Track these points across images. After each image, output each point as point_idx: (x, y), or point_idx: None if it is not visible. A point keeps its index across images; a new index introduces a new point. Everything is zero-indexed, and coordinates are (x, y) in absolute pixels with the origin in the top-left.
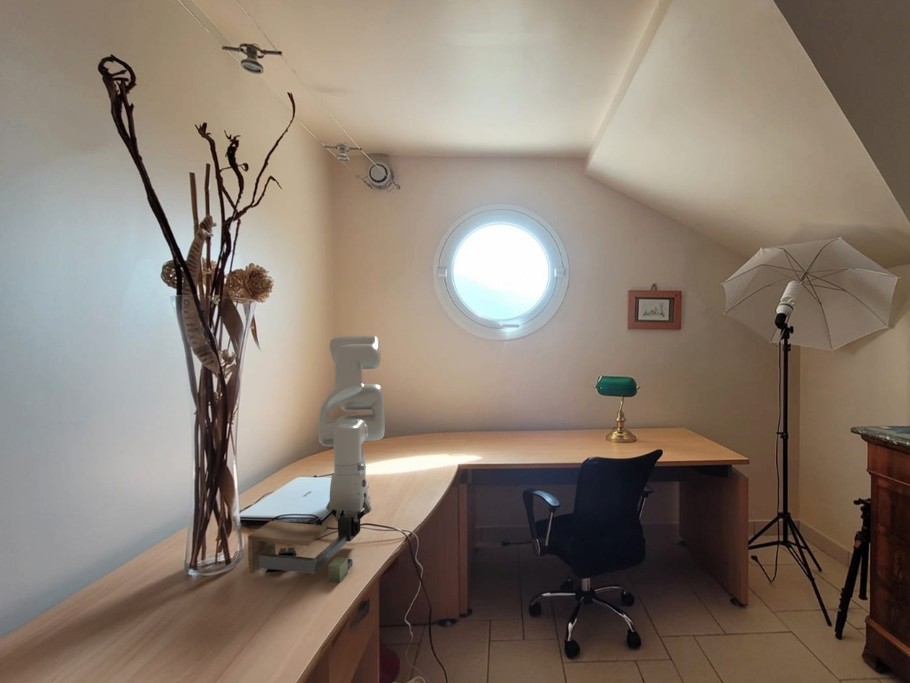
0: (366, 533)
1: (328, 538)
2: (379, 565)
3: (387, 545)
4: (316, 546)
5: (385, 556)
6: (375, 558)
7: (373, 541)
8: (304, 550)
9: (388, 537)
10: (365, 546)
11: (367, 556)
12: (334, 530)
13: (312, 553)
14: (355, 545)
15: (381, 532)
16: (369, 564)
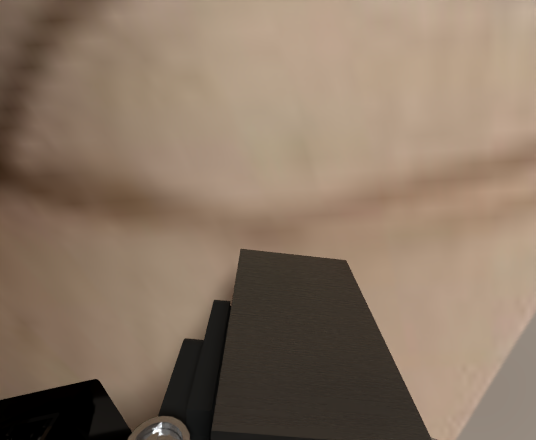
0: (338, 52)
1: (67, 163)
2: (470, 403)
3: (514, 232)
4: (59, 272)
5: (499, 339)
6: (447, 358)
7: (416, 186)
8: (22, 316)
9: (527, 116)
10: (372, 252)
11: (403, 345)
12: (21, 5)
13: (91, 339)
14: (304, 245)
15: (468, 22)
16: (423, 399)
